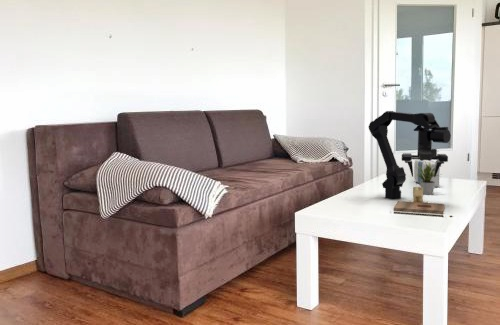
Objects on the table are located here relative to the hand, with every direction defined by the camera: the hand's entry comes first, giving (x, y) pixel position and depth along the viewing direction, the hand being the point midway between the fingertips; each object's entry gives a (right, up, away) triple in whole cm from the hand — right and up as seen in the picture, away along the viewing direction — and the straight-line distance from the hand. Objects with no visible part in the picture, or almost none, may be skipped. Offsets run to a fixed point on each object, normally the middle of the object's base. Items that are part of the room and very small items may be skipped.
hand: (423, 176), depth 203 cm
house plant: (+13, -10, +26) cm, 30 cm away
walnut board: (-4, -14, -6) cm, 15 cm away
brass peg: (-2, -12, +1) cm, 12 cm away
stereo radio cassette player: (+22, -6, +53) cm, 58 cm away
